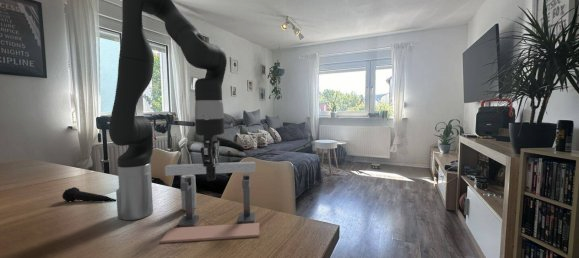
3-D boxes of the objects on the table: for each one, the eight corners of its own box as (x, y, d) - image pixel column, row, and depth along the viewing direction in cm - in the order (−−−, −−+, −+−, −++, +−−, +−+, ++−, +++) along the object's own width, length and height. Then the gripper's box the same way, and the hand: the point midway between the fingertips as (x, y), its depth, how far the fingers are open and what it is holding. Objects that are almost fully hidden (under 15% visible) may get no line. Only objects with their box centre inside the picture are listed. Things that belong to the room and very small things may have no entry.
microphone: (118, 207, 96) (68, 201, 96) (122, 192, 97) (73, 186, 97) (108, 208, 91) (56, 202, 91) (113, 193, 92) (61, 186, 92)
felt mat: (160, 243, 64) (160, 240, 64) (170, 230, 71) (170, 228, 71) (259, 236, 67) (259, 234, 67) (259, 224, 74) (259, 222, 74)
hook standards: (176, 228, 72) (174, 182, 71) (183, 219, 78) (181, 176, 77) (254, 223, 75) (253, 179, 74) (254, 215, 81) (254, 174, 80)
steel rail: (165, 175, 65) (164, 166, 65) (168, 173, 68) (168, 164, 68) (255, 171, 68) (254, 163, 68) (255, 169, 71) (255, 161, 70)
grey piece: (191, 211, 84) (189, 177, 83) (178, 210, 85) (177, 177, 84) (199, 206, 89) (198, 174, 88) (187, 205, 89) (186, 173, 89)
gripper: (201, 116, 73) (204, 173, 74) (188, 118, 59) (191, 187, 61) (227, 116, 74) (228, 172, 75) (219, 117, 60) (221, 185, 62)
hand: (212, 178), depth 68 cm, fingers closed on steel rail, 2 cm apart
